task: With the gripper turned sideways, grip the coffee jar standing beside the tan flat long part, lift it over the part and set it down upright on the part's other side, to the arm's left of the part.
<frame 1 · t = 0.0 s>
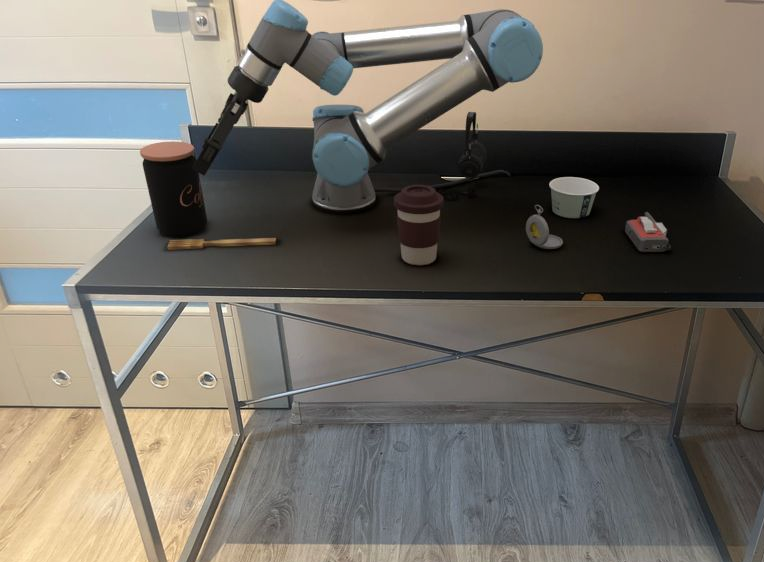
hand: (203, 161, 148), 15 cm above the table, tool tilted 35°, fingers open, 13 cm apart
coffee cup: (419, 259, 147), on the table
coffee jar: (183, 229, 156), on the table
pocket watch: (542, 246, 155), on the table
headphones: (461, 192, 181), on the table
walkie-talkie: (644, 236, 161), on the table
tan flat long part: (223, 244, 150), on the table
food container: (570, 211, 172), on the table
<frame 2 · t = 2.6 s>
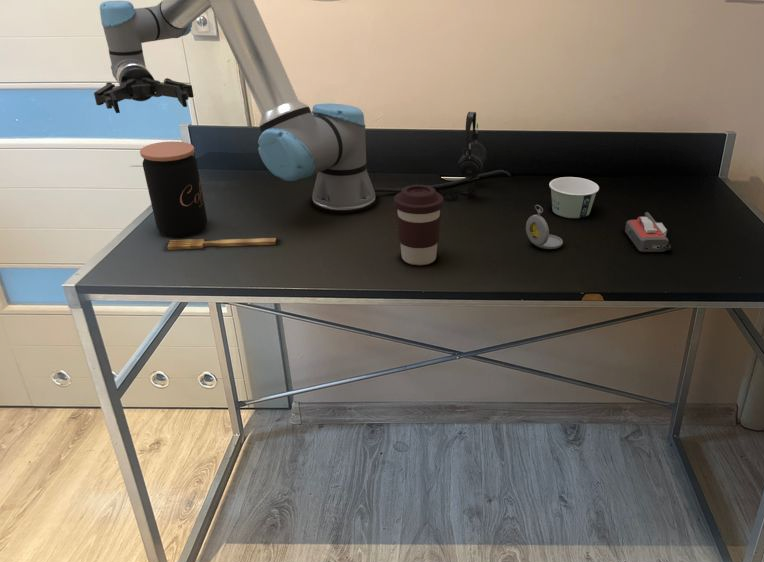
hand: (151, 103, 149), 25 cm above the table, tool horizontal, fingers open, 13 cm apart
nothing on the table moved.
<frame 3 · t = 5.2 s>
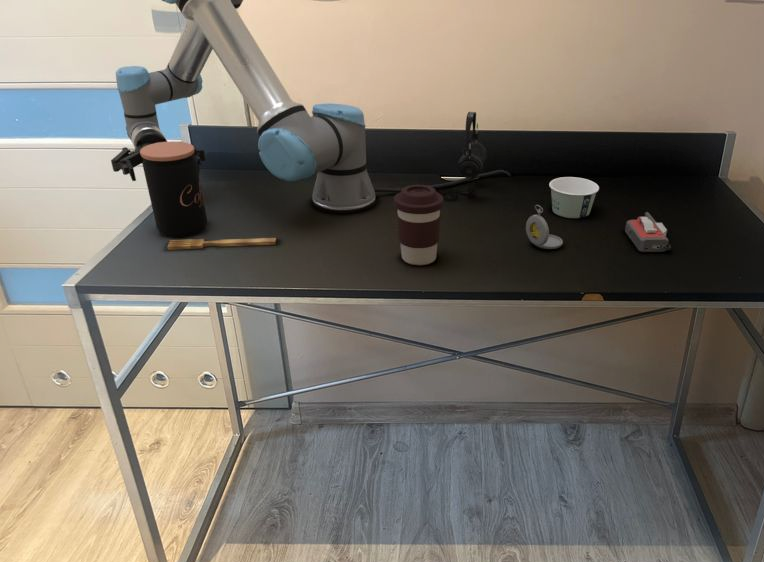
hand: (165, 170, 156), 11 cm above the table, tool horizontal, fingers open, 13 cm apart
nothing on the table moved.
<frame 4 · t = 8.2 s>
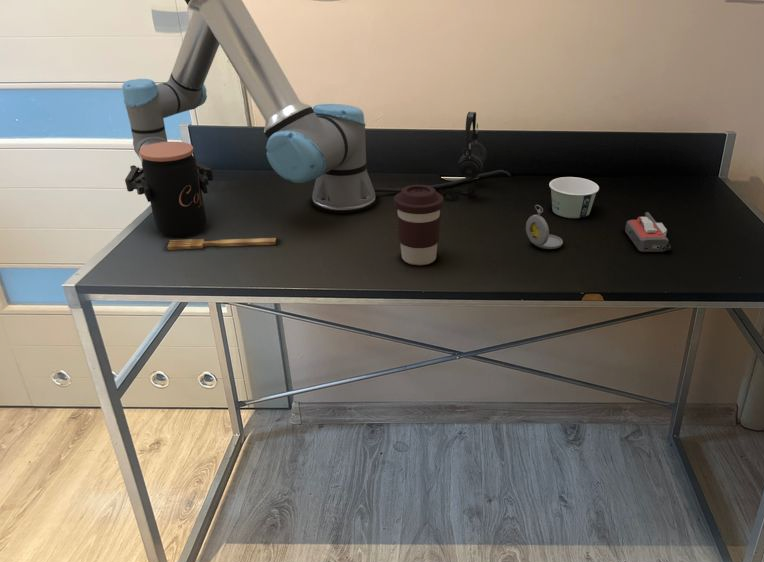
hand: (177, 191, 148), 10 cm above the table, tool horizontal, fingers closed on coffee jar, 11 cm apart
coffee jar: (183, 229, 156), on the table, touching gripper
everything else where it was.
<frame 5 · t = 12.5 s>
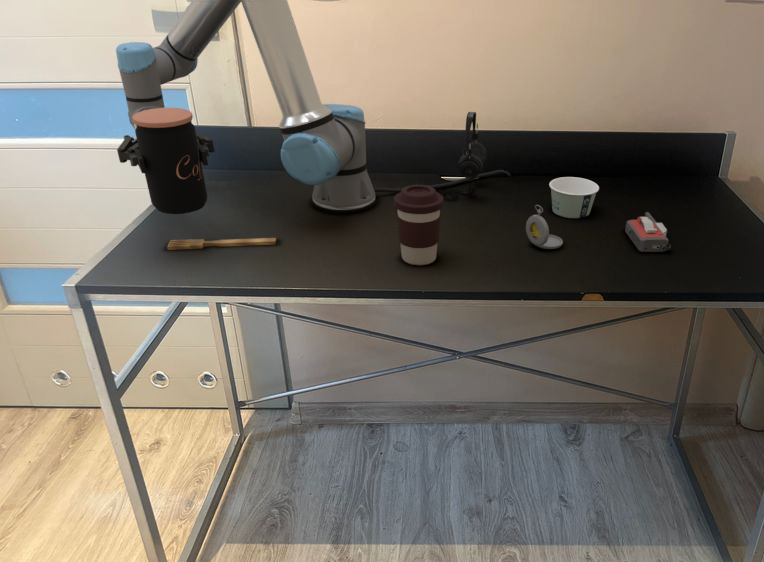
hand: (174, 162, 134), 20 cm above the table, tool horizontal, fingers closed on coffee jar, 11 cm apart
coffee jar: (181, 206, 142), point 10 cm above the table, touching gripper
everything else where it was.
when the fingers open (10 cm above the table, at t = 17.0 s): coffee jar stays where it is, on the table.
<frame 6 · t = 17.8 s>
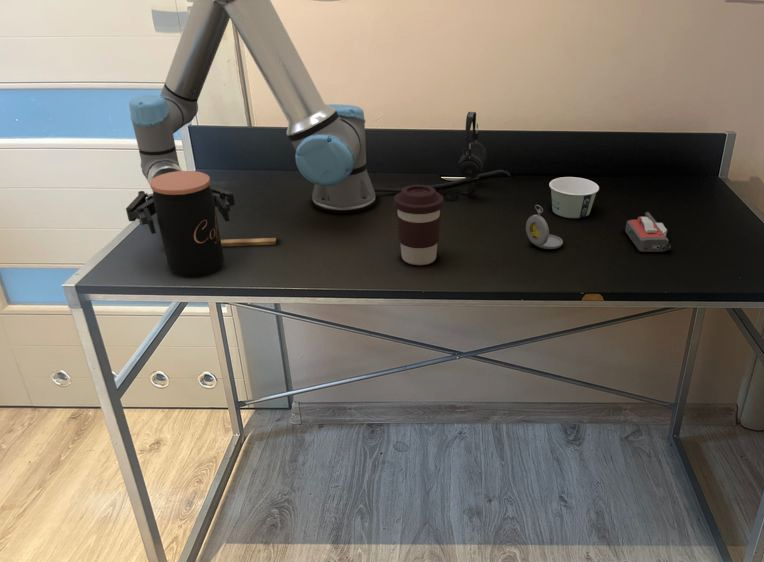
hand: (190, 220, 133), 11 cm above the table, tool horizontal, fingers open, 13 cm apart
coffee jar: (197, 267, 141), on the table
everything else where it was.
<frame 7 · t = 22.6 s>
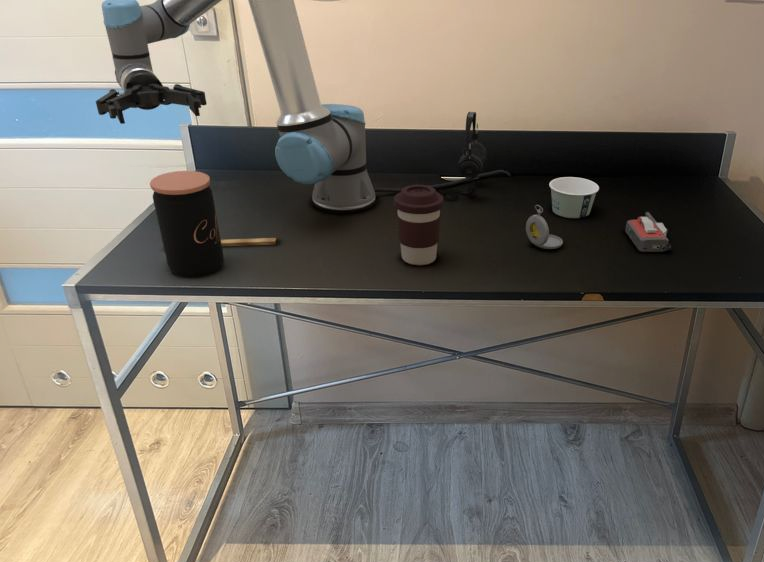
hand: (159, 112, 133), 28 cm above the table, tool horizontal, fingers open, 13 cm apart
nothing on the table moved.
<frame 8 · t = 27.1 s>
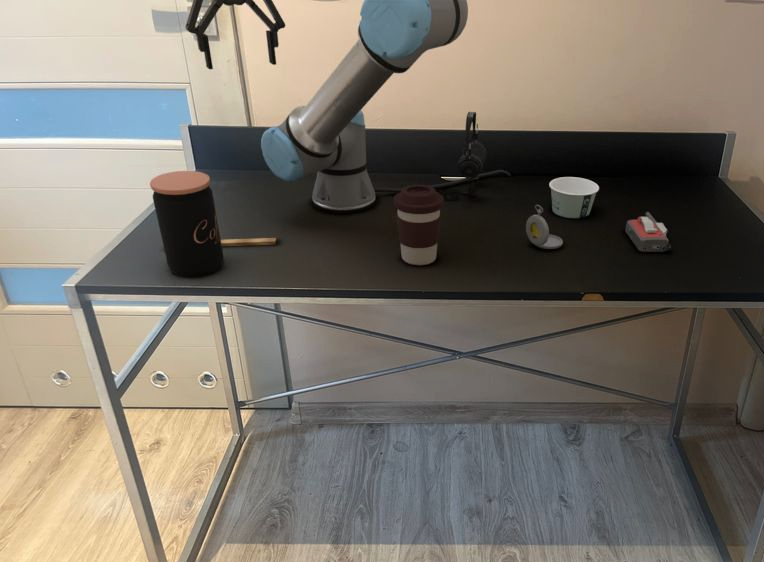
hand: (241, 65, 152), 32 cm above the table, tool pointing down, fingers open, 13 cm apart
nothing on the table moved.
at the end: coffee jar inside the target area on the table beside the tan flat long part (2.4 cm from its centre), on the table; coffee jar tilted 0°; the gripper is holding nothing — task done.
